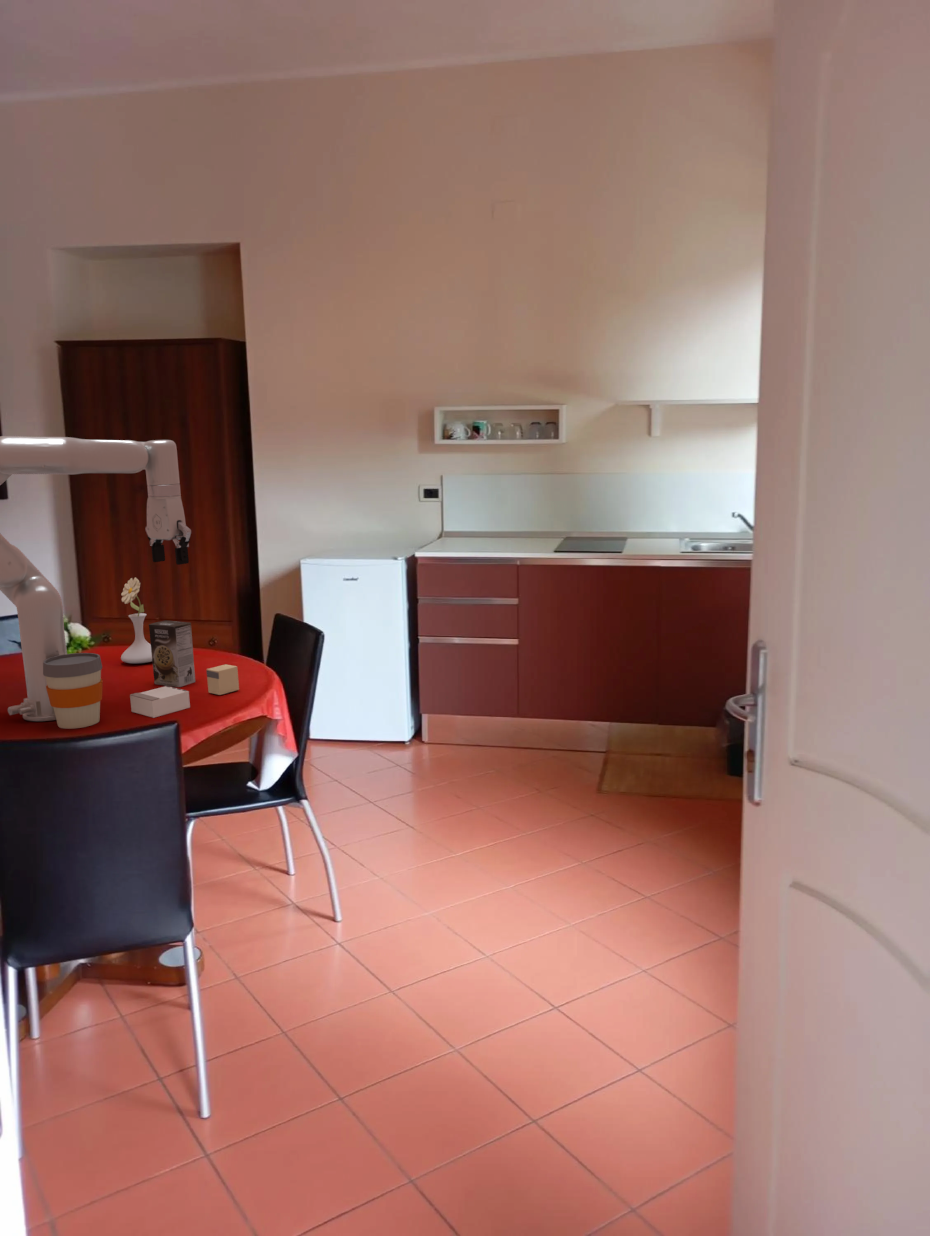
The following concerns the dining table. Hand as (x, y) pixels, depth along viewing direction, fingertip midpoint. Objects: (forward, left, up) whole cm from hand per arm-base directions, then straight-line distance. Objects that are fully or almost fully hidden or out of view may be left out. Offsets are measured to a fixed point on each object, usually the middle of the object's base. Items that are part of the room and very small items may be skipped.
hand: (170, 562), depth 241 cm
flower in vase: (+15, +41, -34) cm, 55 cm away
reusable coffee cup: (-28, 0, -34) cm, 44 cm away
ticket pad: (-11, -7, -33) cm, 36 cm away
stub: (+7, -7, -33) cm, 35 cm away
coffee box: (+6, +12, -34) cm, 36 cm away
